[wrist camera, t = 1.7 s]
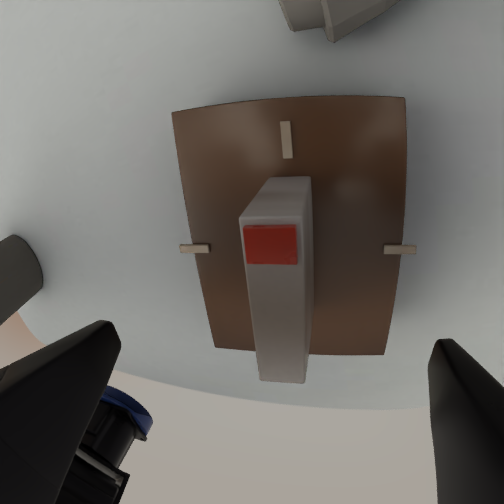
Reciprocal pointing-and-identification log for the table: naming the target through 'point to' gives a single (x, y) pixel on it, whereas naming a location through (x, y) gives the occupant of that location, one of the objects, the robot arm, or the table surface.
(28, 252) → the bottle
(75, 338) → the robot arm
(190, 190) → the panel
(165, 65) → the table surface
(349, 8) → the faucet
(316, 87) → the table surface
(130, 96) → the table surface
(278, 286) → the tap handle
